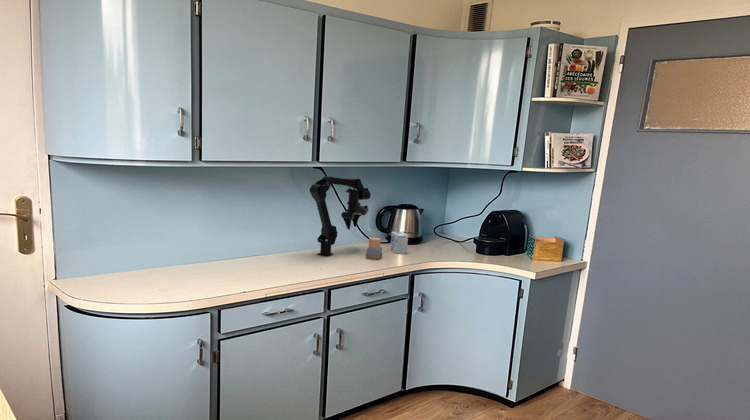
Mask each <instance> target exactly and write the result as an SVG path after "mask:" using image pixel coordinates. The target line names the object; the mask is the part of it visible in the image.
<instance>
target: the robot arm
mask: <svg viewBox="0 0 750 420" xmlns="http://www.w3.org/2000/svg"><path fill="white" fill-rule="evenodd" d="M332 185H339V186H345V187H347V188H348V189H346V191H345V193H348V201H347V202H346V204H347V209H346V211H343V212H342V213H341V218H342V219H343V221H344V224H345V225H346V228H347V230H350V229H351V226H352V223H353V227H354V228H356V227H357V225H358V222H359V219H360V218H361V217H362V216H366V215H367V214H368V212H369V210H370V209H369V205H366V204H365V205H364V206H363V205H361V202H359V201H365V200H367V201H368V200H369V199H370V198H371V196H372V195H371V191H370V190H369V187H365V186H364V185H363V183H362V180H361V179H360V178H356V177H346V178H342V177H336V176H335V177H334V176H330V175H325V176H323V177H322V178H321V179H319V180H317V181H316V182H315V183H314V184H311V186H310V187H309V193H310V196H311V197H312V198H313V199H314V201H315V203H316V207H317V211H318V214H319V218H320V222H321V230H320V235H319V236H318V237H317V238H316V239H317V243H320V252H318V253H317V255H318V256H322V257H323V256H325V257H330V256H332V255H334V253H333V252H332V245H335V243H336V240H337V237H338V232H339V231H338V230H337V226H336V225H333V224H332V222H331V218H330V214H329V209H328V207H327V201H326V198H327V191H329V190H330V188H331V186H332Z"/></svg>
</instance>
